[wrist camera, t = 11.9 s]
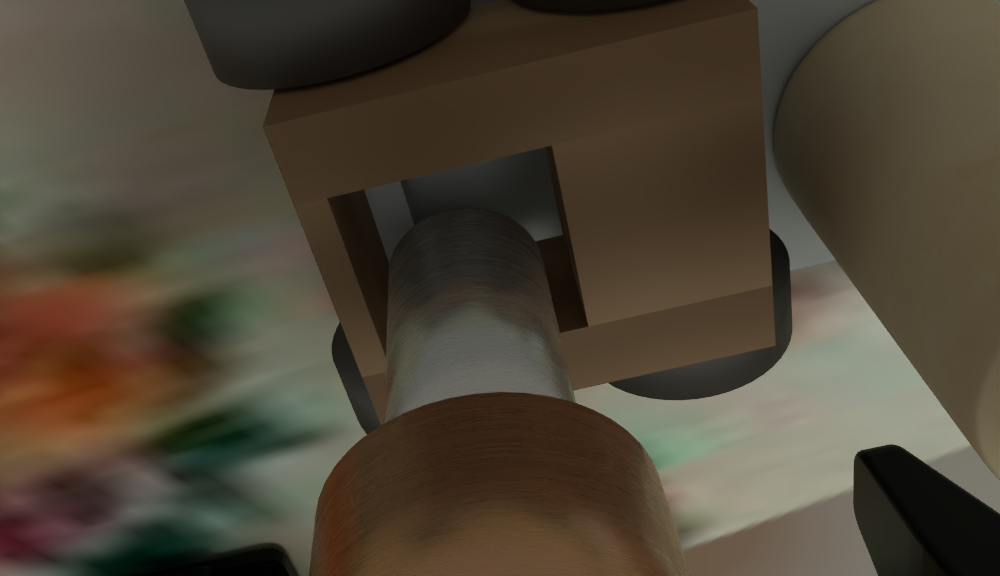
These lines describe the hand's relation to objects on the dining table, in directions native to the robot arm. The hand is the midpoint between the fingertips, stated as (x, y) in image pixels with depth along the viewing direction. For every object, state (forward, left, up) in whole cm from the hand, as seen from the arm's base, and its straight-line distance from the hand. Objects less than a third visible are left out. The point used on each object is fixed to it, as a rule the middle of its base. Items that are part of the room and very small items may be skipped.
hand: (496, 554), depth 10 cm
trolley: (0, -1, -12) cm, 12 cm away
